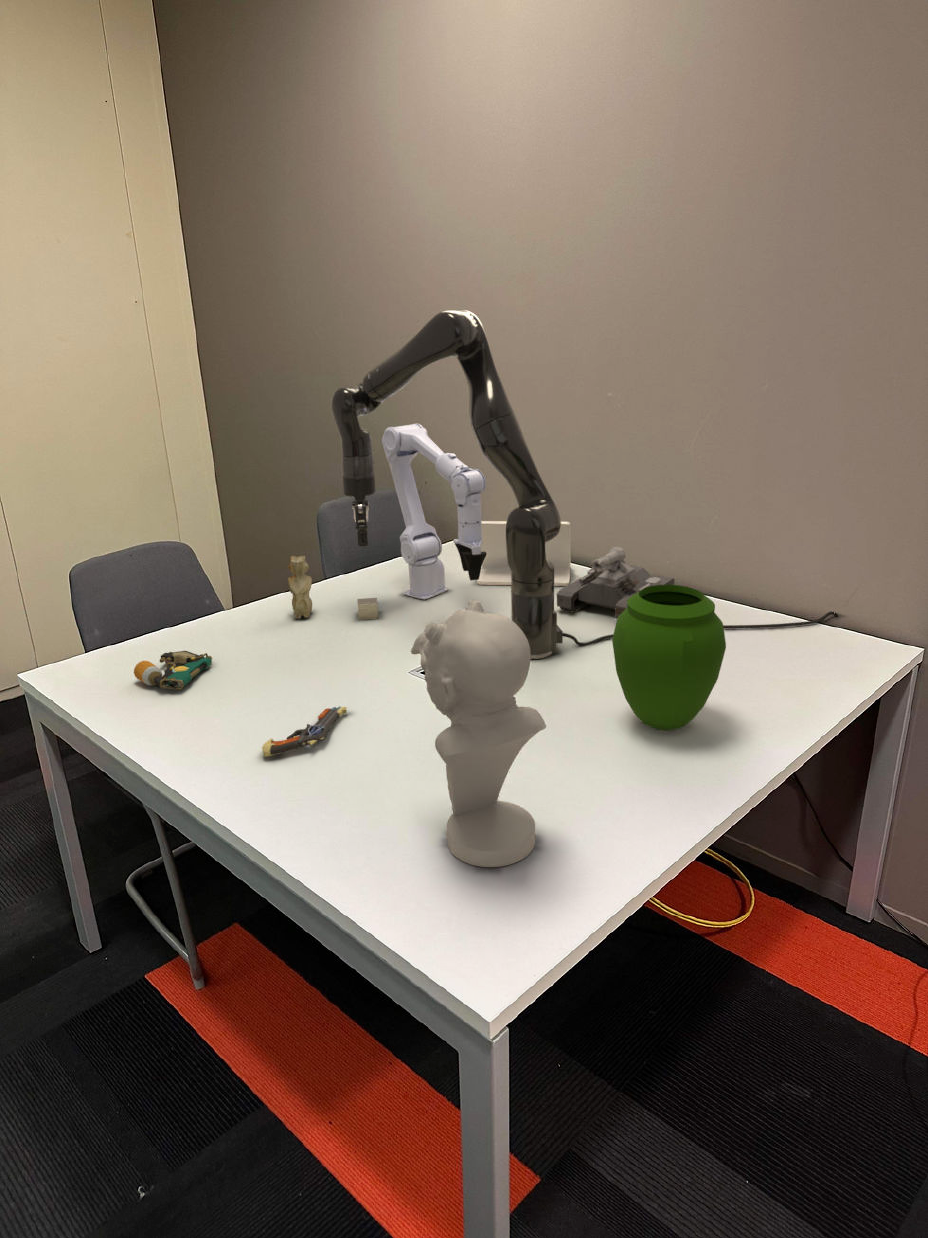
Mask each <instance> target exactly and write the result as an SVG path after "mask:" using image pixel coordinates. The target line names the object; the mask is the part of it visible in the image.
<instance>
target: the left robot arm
mask: <svg viewBox="0 0 928 1238" xmlns="http://www.w3.org/2000/svg"><path fill="white" fill-rule="evenodd" d="M381 443H382V446H383V451H384V454H385V459H386V462H388V465H389V469H390V474H391V477H392V481H393V484H394V488H395V491H396V495H397V499H398V503H399V507H400V510H401V514H402V518H403V522H404V525H405V529H404V530H403V532H402V533H401V534H400V536H399V542H400V554H401V557H402V558H403V560H404V561H405V563H406V564H408V582H409V583H408V584H409V589H408V590H406V591H404V592H402V595H404V596H407V597H412V598H415V599H420V600H423V601H425V600H428V599H430V598H433V597H435V596H438V595H440V594H442V593H445V592H447V591H449V590H448V588H446V575H445V574H446V572H445V566H444V563H443V561H442V560H441V558H439V556H440V555H442V551H443V544H442V543H443V542H442V541H441V539H440V537H439V535H438V534H437V531H436V528H435V527H434V526H432V525H430V524H429V523H427V521H426V518H425V514H424V510H423V507H422V502H421V499H420V495H419V492H418V487H417V483H416V480H415V477H414V472H413V469H412V466H411V465H412V461H413V459H415V457H417V456H418V454H421V455H422V456H423V457H425V458H426V459H427V460H428V461H430V462H431V463H433V464H434V465H435V471H436V472H437V474H439V475H440V476H441V477H442V478H443V479H444V480H445V481H447V482H448V483H449V484H450V487H451V490H452V493H453V495H454V501H455V504H456V510H457V538H454V539H453V544H454V545H455V547H456V549H457V552H458V554H459V558H460V562H461V566H462V570H463V572H467V573H468V578H469V581H477V580H479V577H480V572H481V570H482V564H483V561H484V559H485V557H486V554H487V553H486V552H481V544H482V542H483V538H482V524H481V521H482V493H484V491H485V489H486V486H487V480H486V478H485V474H484V473H483V472H482V471H481V469H478V468H474V469H473V468H469V466H468V465H467V464H465V463H464V462H463V461H461V460H460V459H459V458H458V457H457V455H456V454H455V453H453V452H452V453H451V452H446V453H445V452H444V451H443V450H442V449H441V448H440V447H439V446H438V445H437V444H436V443H435V442H434V441H433V440H432V439H431V438H430V436H429V434H428V430H427V429H426V428H425V427H424V426H422V425H421V424H420V423H417V422H416V423H412V424H406V425H399V426H388V427H387V428H386V429H385V430H384V432H383V434H382V438H381ZM417 536H419V537H417Z"/></svg>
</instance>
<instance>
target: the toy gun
mask: <svg viewBox="0 0 928 1238" xmlns="http://www.w3.org/2000/svg"><path fill="white" fill-rule="evenodd" d="M347 708H348V707H347V706H340V705H339V706H337V707H336V706H333V707H332V708H325V709H324V710H323V711H322V712H321V713H320V714H319V715H318V716H317V721H316V722H315V723H314V724H309V723H307V724H306V727H305V728H302V729H295V730H294V732H293V733H291V734H290V735H288V736H287V737H286V739H283V740H274V739H273V738H269V740H266V742H264V743H263V745H262V747H261V748H262V749H261V750H262V754H263V756H264V757H267V758H268V757H272V756H275V755H276V756H277V755H280V754H283V753H287V752H290V751H293V750H298V749H300V748H303V747H306V746H309V745H310V746H313V745H314V744H316V743H318V742H319V741H321V740H324V738H325V737H327V735H328V733H329V732H330V731H331V729H332V727H333V725H334V724H335V723H336V722H337V721H338V720H339V718H341V717H342V715H344V714H347V712H348V709H347Z"/></svg>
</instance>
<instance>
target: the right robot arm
mask: <svg viewBox="0 0 928 1238" xmlns="http://www.w3.org/2000/svg"><path fill="white" fill-rule="evenodd" d="M454 358H456V359H457V361H458V363H459V364H460V367H461V369H462V371H463V374H464V377H465V380H466V383H467V388H468V400H469V402H468V411H469V422H470V426H471V428H472V432H473V433H474V436H475V438H476V440H477V443H478V446H479V448H480V451H481V452H482V454H483V456H484V457H485V458H486V460H487V461H488V462H489V463H490V464H491V465H492V466H493V467H494V468H495V469H496V471H498V473H500V475H501V476H502V477H503V478H504V479H505V480H506V482H507V483H508V485H509V486H510V488H511V490H512V492H513V494H514V497H515V499H516V502H517V504H518V506H517V507H515V508H514V509H512V510H511V511H510V512H509V514H508V515H507V517H506V521H507V522H506V550H507V562H508V565H509V568H510V570H511V585H510V588H511V589H510V597H511V599H510V603H511V604H510V606H511V607H510V609H511V610H510V615H511V617H510V619H511V620H512V621H513V622H514V623H515V624H516V625H517V626H518V627H519V628H520V629H521V630H522V632H523V633H524V634H525V636H526V638H527V640H528V643H529V646H530V652H531V653H530V655H531V656H530V660H540V659H545V658H548V657H550V656H552V655H557V654H558V653H557V650H558V649H557V648H558V647H557V645H558V644H563V638H568V639H571V640H572V641H573V642H574V643H575V644H576V645H577V646H581V647H586V646H590V645H593V644H594V645H595V644H597V643H598V642H602V641H604V640H607V639H608V640H609V639H612V638H613V634H614V633H613V634H608V635H607V634H606V635H603V636H600V637H597V638H595V639H593V640H591V641H587V642H582V641H581V642H580V641H579V640H578V639H577V638H576V637H575V636H574V635H572V634H569V633H565V632H563V630H562V629H561V627H560V626H559V625H558V613H557V612H556V611H555V586H554V565H553V564H552V563H551V562H550V561H548V560H546V551H545V543H547V542H549V541H551V540H552V539H554V538H555V537H556V536H557V535H558V533H559V531H560V528H561V522H562V519H561V514H560V511H559V510H558V507H557V505H556V504H555V501H554V499H553V498H552V495H551V494H550V492H549V490H548V488H547V486H546V485H545V483H544V481H543V478H542V477H541V475H540V472H539V470H538V469H537V466H536V463H535V460H534V458H533V456H532V454H531V451H530V449H529V447H528V444H527V442H526V440H525V437H524V434H523V432H522V428H521V426H520V423H519V421H518V419H517V416H516V414H515V411H514V409H513V407H512V405H511V402H510V400H509V398H508V395H507V393H506V389H505V388H504V385H503V382H502V380H501V377H500V375H499V373H498V370H497V367H496V365H495V362H494V359H493V355H492V351H491V347H490V344H489V341H488V337H487V334H486V332H485V328H484V326H483V323H482V322H481V320H480V318H479V317H478V315H477V314H475V313H474V312H473V311H470V310H468V309H447V310H442V311H440V312H438V313H436V314H435V315H434V316H433V317H432V318H431V319H430V320H429V321H428V322H427V323H425V325H423V327H422V328H421V329H420V330H419V331H418V332H417V333H416V334H415V335H414V336H413V337H412V338H411V339H409V341H408V342H407V343H406V344H404V345H403V346H402V347H401V348H399V350H397V351H396V352H395V353H393V354H392V355H390V356H389V357H388V358H385V360H383V361H381V362H380V363H378V364H377V365H376V366H374V367H373V368H372V369H370V370H369V371H368V372H366V373H365V374H364V376H363V378H362V379H361V382H360V383H357V384H356V385H349V386H342V387H338V388H337V389H335V390H334V392H333V394H332V396H331V401H330V409H331V414H332V417H333V421H334V424H335V426H336V430H337V432H338V435H339V437H340V449H341V450H340V451H341V478H342V479H341V480H342V491H343V494H344V495H345V496H346V497H351V498H352V497H353V498H354V500H352V501H351V510H352V512H353V522H354V523H355V530H356V532H357V545H358V546H359V547H367V546H369V545H368V544H369V543H368V540H369V539H368V529H369V527H368V522H369V520H370V519H369V518H370V517H369V510H370V503H369V499H366V497H367V496H368V497H369V496H372V495H374V494H375V493H376V478H375V477H376V475H375V462H374V458H373V448H372V447H373V446H372V436H371V435H372V434H371V432H370V430H369V429H368V428H365V427H361V425H360V422H359V418H361V417H365V416H367V415H370V414H371V413H373V412H374V411H377V410H376V409H378V408H380V406H381V405H383V403H384V402H385V400H387V399H389V398H391V397H393V396H394V395H396V394H397V393H398V392H400V391H401V390H402V389H404V388H405V387H406V386H408V385H409V384H410V383H411V382H412V380H414V378H415V377H416V375H417V374H418V373H419V372H420V371H422V370H423V369H424V368H426V367H428V366H430V365H431V364H434V363H436V362H438V361H441V360H445V359H454ZM832 611H833V610H831V611H828V612H826V613H825V614H824V615H822V616H821V617H819V618H817V619H814V620H808V621H799V622H797V621H796V622H786V623H772V624H769V623H768V624H735V625H733V624H732V625H731V624H730V625H729V624H728V625H724V624H723V627H724V630H725V629H763V628H764V629H766V628H768V629H769V628H783V627H796V626H797V627H798V626H807V625H814V624H817V623H820V622H822V621H824V620H825V619H827V618H828V617H829V616H831V615H833V616H834V617H837V618H838V617H839V614H838V613H837V612H835V611H833V612H832ZM834 612H835V614H834Z"/></svg>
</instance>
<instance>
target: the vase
mask: <svg viewBox="0 0 928 1238" xmlns="http://www.w3.org/2000/svg"><path fill="white" fill-rule="evenodd" d="M715 609H716V604H715V602H714V601H713V600H712V599H711V598H710V597H708V596H707V595H705V594H704V593H703V592H701V591H700V590H698V589H695V588H693V587H688V586H684V585H679V584H678V585H677V584H674V585H656V586H650V587H646V588H644V589H642V590H640V591H639V592H638V593H636V594H634V595H632V596H631V597H630V598H629V599H628V601H627V608H626V609H625V610H624V611H623V612H622V613H621V614H620V615H619V616H618V619H617V618H616V624H615V627H614V631H613V638H611V641H612V642H611V643H612V649H613V656H614V657H613V658H614V664H615V665H614V666H615V671H616V676H617V678H618V681H619V685H620V687H621V690H622V693H623V696H624V699H625V700H626V703H627V704H628V705H629V707H630V709H631V711H632V712H633V714H634V716H636V717H637V718H638V720H639V721H640V722H641V723H642V724H643V725H645V726H647V727H649V728H651V729H654V730H660V731H674V730H679V729H682V728H684V727H686V726H687V725H688V724H689V723H691V722H692V720H694V719H695V718H696V716H697V715H698V714H699V713H700V712H701V710H702V709H703V708H704V707H705V705H706V703H707V702H708V700H709V697H710V695H711V693H712V691H713V689H714V688H715V685H716V684H717V681H718V679H719V676H720V672H721V669H722V664H723V660H724V658H725V657H724V656H725V653H726V650H727V641H726V635H725V629H724V627H723V625H724V623H723V622H722V621H723V620H721V619H720V617H719V616H718V615H717V614H716V612H715Z"/></svg>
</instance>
